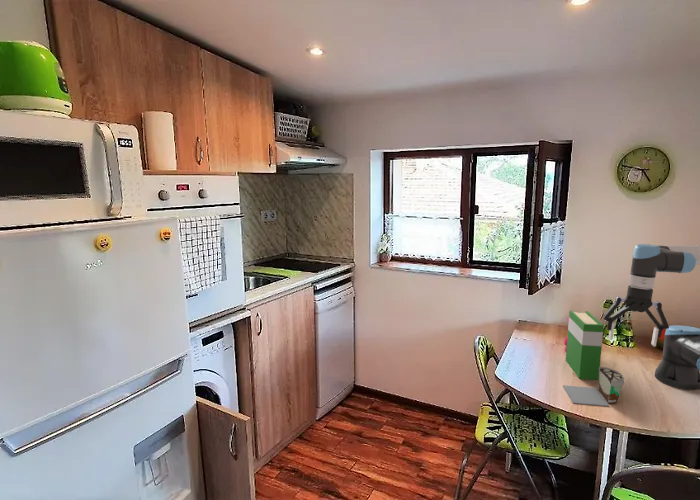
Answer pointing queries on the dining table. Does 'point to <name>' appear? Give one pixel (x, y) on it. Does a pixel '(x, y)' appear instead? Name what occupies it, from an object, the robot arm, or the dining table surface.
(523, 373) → the dining table surface
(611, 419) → the dining table surface
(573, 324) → the hardback book
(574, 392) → the mat
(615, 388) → the food container
